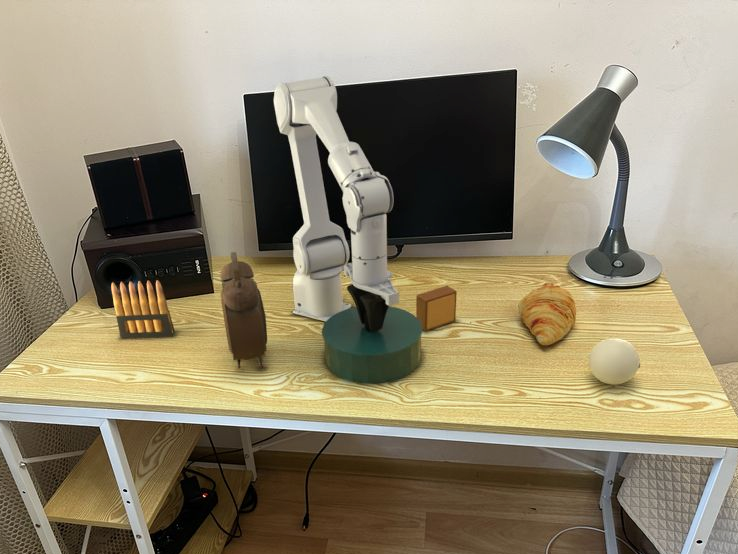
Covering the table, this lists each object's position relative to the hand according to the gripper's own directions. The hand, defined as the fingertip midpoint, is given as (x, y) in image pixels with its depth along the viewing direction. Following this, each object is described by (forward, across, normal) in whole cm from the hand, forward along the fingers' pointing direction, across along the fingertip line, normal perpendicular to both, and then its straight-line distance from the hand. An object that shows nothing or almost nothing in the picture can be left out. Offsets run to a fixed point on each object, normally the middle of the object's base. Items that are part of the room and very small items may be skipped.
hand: (371, 325), depth 111 cm
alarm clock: (+7, +12, +19) cm, 23 cm away
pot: (+6, 0, 0) cm, 6 cm away
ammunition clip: (+7, +32, +33) cm, 46 cm away
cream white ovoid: (+7, -26, -29) cm, 39 cm away
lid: (+1, 0, 0) cm, 1 cm away
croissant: (+7, -7, -33) cm, 35 cm away
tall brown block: (+6, +4, -16) cm, 18 cm away
